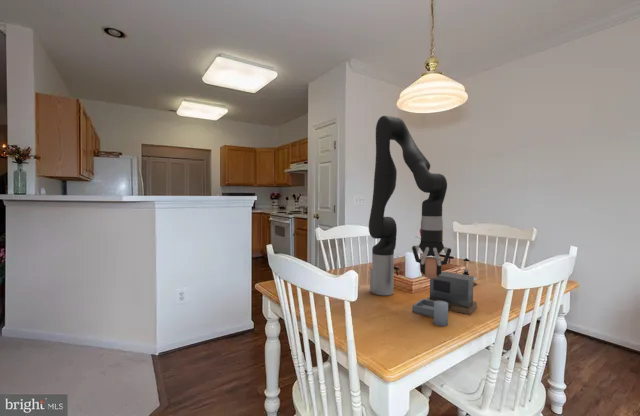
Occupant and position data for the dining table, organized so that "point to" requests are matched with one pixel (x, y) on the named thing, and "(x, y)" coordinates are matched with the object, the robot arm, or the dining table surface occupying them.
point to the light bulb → (467, 270)
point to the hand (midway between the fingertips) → (430, 274)
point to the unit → (453, 291)
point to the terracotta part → (430, 267)
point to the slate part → (441, 313)
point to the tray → (424, 307)
